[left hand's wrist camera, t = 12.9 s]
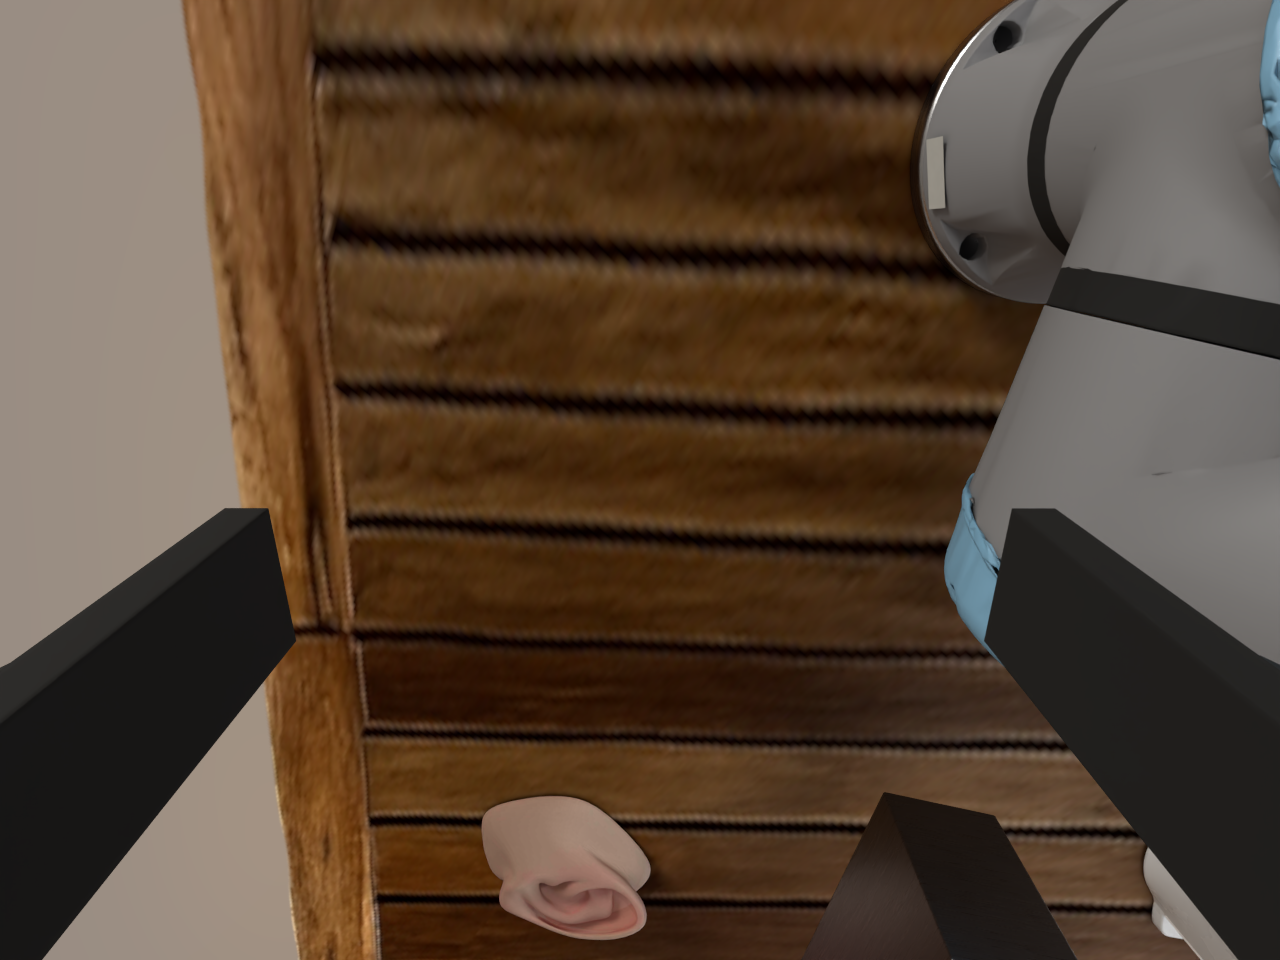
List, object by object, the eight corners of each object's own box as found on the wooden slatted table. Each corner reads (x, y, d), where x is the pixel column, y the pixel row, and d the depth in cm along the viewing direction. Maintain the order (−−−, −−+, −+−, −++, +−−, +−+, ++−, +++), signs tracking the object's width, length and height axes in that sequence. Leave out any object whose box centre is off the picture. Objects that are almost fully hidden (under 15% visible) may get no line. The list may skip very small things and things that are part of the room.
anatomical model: (441, 866, 50) (581, 811, 48) (454, 821, 54) (586, 768, 52) (534, 978, 54) (667, 931, 52) (541, 928, 58) (665, 883, 56)
